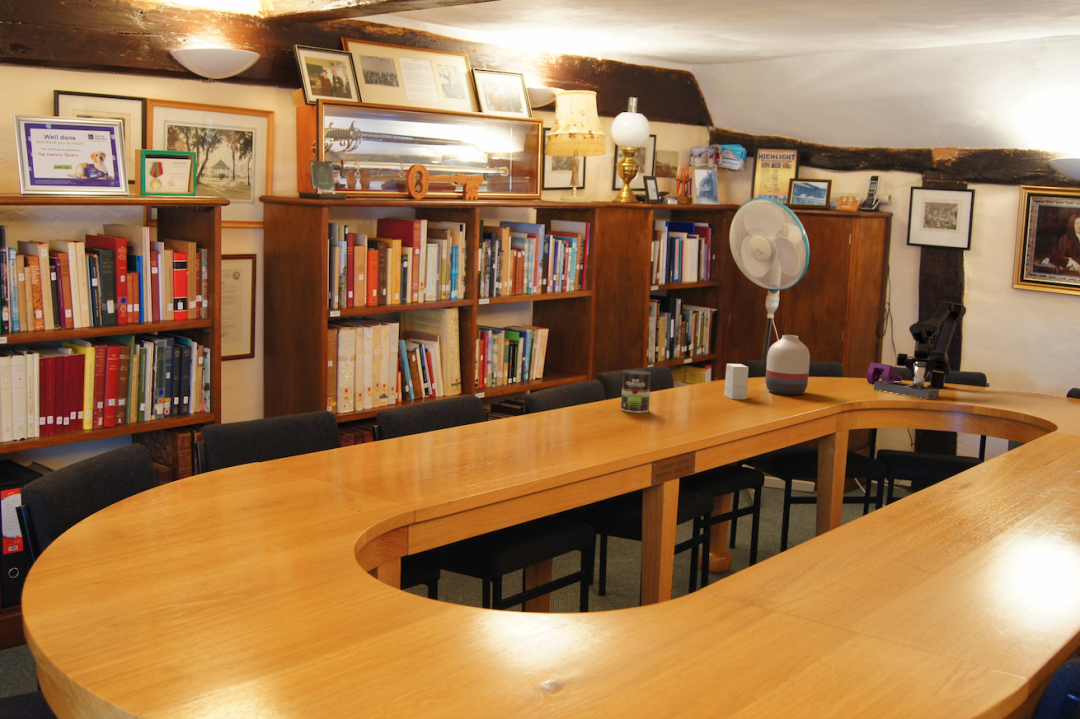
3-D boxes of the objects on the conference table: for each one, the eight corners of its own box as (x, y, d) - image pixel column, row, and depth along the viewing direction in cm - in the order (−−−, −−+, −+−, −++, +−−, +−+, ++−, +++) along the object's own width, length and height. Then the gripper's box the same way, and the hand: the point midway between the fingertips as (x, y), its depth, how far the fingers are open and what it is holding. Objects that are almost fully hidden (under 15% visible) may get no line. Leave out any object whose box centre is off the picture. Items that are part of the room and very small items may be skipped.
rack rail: (884, 387, 415) (885, 379, 414) (938, 397, 397) (939, 388, 397) (873, 390, 408) (874, 381, 408) (928, 399, 391) (929, 390, 390)
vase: (789, 388, 404) (794, 332, 400) (815, 396, 388) (820, 338, 385) (756, 389, 397) (760, 333, 394) (781, 397, 382) (786, 339, 378)
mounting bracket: (880, 393, 436) (865, 379, 423) (885, 376, 437) (870, 362, 425) (900, 396, 429) (885, 383, 417) (905, 379, 431) (890, 365, 418)
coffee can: (648, 414, 339) (650, 375, 337) (619, 411, 341) (621, 373, 338) (650, 408, 349) (652, 370, 347) (622, 406, 351) (624, 368, 348)
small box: (746, 399, 374) (749, 366, 372) (731, 399, 373) (733, 366, 371) (738, 395, 382) (741, 363, 380) (723, 395, 381) (726, 363, 379)
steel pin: (914, 390, 402) (918, 360, 400) (925, 392, 399) (928, 362, 397) (909, 392, 399) (913, 361, 397) (920, 393, 396) (923, 363, 394)
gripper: (899, 334, 402) (896, 363, 394) (947, 338, 396) (944, 368, 387) (898, 350, 411) (894, 379, 403) (945, 354, 404) (942, 384, 396)
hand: (919, 377), depth 397 cm, fingers closed on steel pin, 4 cm apart
